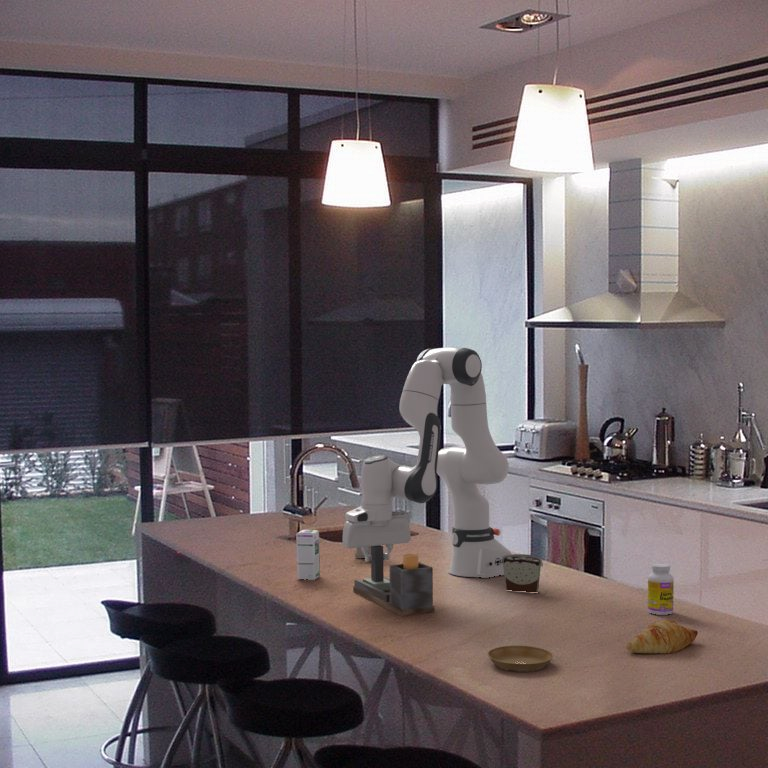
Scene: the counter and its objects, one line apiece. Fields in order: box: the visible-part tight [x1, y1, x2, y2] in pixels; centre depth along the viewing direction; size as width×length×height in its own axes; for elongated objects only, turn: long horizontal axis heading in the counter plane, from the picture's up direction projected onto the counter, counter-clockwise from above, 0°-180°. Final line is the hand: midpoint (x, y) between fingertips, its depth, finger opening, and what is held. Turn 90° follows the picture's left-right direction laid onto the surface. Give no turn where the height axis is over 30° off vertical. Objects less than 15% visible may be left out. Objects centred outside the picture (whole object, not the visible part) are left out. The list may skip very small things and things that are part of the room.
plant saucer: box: [487, 645, 554, 672], centre depth 263 cm, size 15×15×3 cm
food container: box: [501, 553, 544, 593], centre depth 337 cm, size 12×6×10 cm, turn 65°
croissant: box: [626, 619, 699, 655], centre depth 275 cm, size 21×10×8 cm, turn 120°
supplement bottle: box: [647, 562, 675, 616], centre depth 309 cm, size 7×7×13 cm
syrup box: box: [295, 529, 321, 581], centre depth 356 cm, size 6×6×14 cm
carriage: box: [362, 545, 390, 591], centre depth 334 cm, size 6×8×12 cm
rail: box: [352, 561, 435, 617], centre depth 325 cm, size 10×32×12 cm, turn 25°
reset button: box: [402, 553, 419, 570], centre depth 313 cm, size 4×4×6 cm
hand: (377, 560), depth 334 cm, fingers open, 4 cm apart
